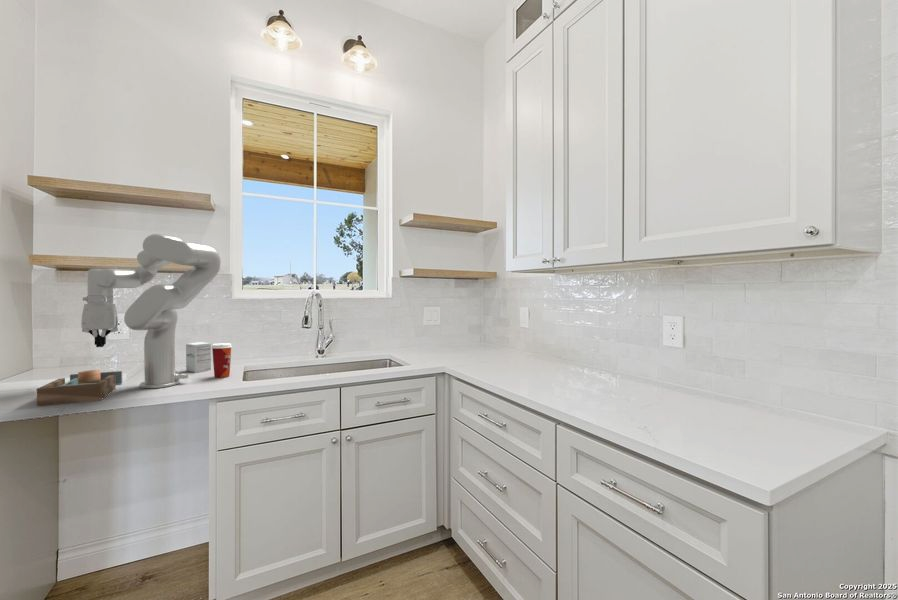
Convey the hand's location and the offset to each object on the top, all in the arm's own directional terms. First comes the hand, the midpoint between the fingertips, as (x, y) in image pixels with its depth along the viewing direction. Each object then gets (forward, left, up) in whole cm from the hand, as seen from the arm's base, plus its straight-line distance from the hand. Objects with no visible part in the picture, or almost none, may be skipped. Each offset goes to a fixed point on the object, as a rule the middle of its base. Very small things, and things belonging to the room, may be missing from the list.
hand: (100, 346), depth 153 cm
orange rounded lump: (-1, +13, -13) cm, 19 cm away
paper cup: (-42, +7, -15) cm, 45 cm away
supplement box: (-32, -12, -15) cm, 37 cm away
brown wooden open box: (0, +23, -14) cm, 27 cm away
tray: (-1, +13, -14) cm, 20 cm away
